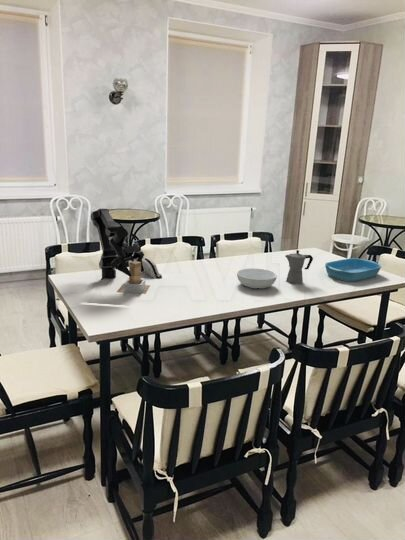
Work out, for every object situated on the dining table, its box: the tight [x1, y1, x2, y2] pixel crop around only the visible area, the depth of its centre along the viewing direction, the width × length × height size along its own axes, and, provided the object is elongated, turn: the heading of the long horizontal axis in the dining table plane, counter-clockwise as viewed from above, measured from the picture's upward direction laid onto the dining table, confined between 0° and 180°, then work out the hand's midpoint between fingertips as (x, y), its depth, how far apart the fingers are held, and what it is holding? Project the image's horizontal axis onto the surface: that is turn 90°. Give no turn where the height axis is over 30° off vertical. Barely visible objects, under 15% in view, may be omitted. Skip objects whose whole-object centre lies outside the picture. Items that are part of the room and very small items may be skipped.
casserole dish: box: [324, 257, 382, 283], centre depth 262 cm, size 37×22×7 cm, turn 126°
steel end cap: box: [123, 278, 146, 295], centre depth 215 cm, size 8×8×4 cm
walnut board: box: [116, 283, 151, 295], centre depth 218 cm, size 14×13×1 cm
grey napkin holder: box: [142, 257, 163, 279], centre depth 245 cm, size 17×5×10 cm, turn 27°
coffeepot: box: [284, 249, 314, 285], centre depth 243 cm, size 15×9×18 cm, turn 92°
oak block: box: [128, 261, 142, 284], centre depth 214 cm, size 4×4×13 cm
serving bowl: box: [236, 267, 278, 289], centre depth 234 cm, size 21×21×7 cm
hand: (137, 273), depth 213 cm, fingers open, 9 cm apart
